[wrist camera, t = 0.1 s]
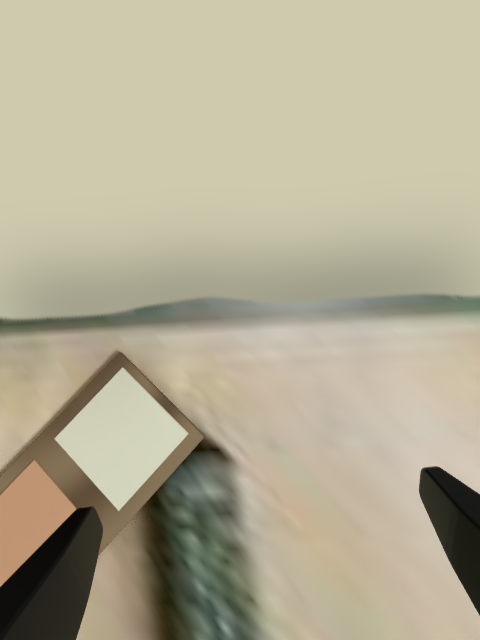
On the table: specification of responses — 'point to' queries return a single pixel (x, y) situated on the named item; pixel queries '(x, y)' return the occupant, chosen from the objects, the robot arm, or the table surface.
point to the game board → (93, 462)
